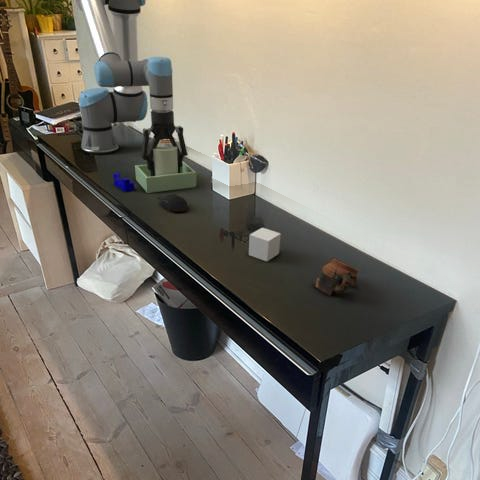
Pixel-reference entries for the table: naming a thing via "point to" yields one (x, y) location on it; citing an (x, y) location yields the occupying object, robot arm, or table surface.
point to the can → (165, 159)
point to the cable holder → (123, 183)
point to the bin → (165, 179)
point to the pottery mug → (339, 284)
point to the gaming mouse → (174, 203)
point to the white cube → (264, 244)
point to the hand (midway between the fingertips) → (165, 177)
